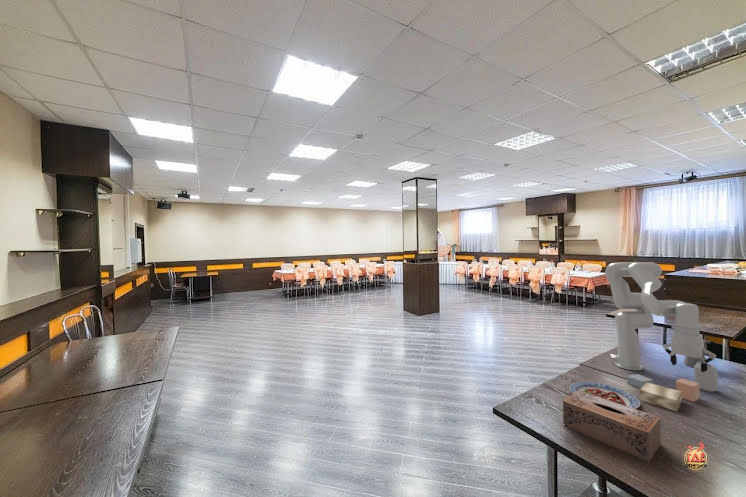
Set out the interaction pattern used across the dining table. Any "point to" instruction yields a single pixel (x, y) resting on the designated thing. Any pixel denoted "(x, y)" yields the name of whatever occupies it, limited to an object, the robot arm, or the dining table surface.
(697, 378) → the can
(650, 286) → the robot arm
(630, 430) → the tissue box cover
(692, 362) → the coffeepot
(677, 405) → the beech block
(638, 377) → the slate block
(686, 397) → the terracotta cube
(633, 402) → the ceramic plate
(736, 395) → the dining table surface
